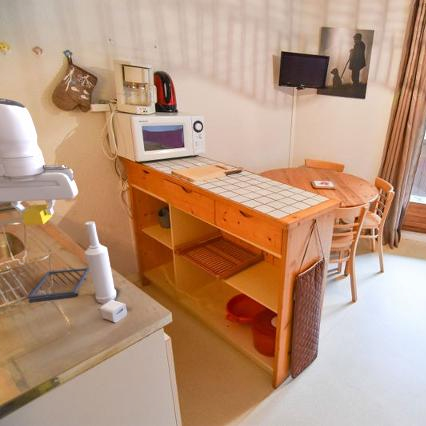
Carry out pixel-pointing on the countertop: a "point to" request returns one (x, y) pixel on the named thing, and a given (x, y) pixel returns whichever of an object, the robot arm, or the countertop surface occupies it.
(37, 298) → the dark grey flat frame
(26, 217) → the sponge
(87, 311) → the countertop surface
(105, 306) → the usb wall charger
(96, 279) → the bottle
